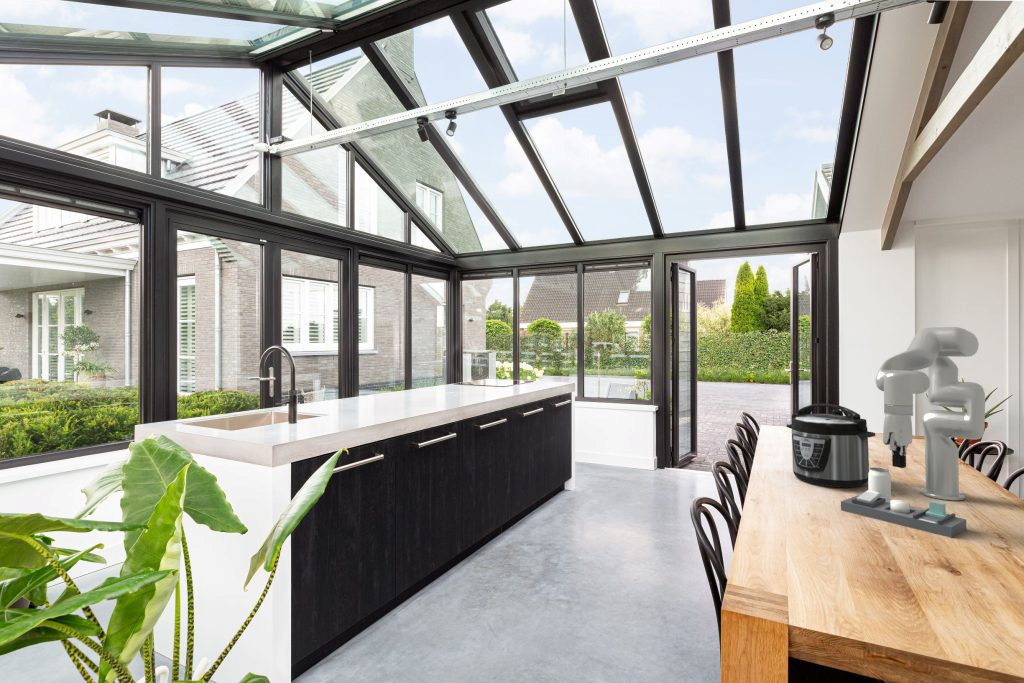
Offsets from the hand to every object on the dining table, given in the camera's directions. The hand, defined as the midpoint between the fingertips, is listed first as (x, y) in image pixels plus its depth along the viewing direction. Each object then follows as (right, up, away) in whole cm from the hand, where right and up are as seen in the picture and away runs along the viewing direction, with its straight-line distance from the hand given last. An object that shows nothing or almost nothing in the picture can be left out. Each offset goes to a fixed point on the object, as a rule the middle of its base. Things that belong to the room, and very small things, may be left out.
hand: (899, 466), depth 166 cm
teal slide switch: (+7, -14, -6) cm, 17 cm away
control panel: (0, -17, 0) cm, 17 cm away
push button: (0, -15, 0) cm, 15 cm away
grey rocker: (-5, -12, +8) cm, 15 cm away
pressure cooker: (+5, -17, +46) cm, 49 cm away
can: (+5, -17, +16) cm, 24 cm away
